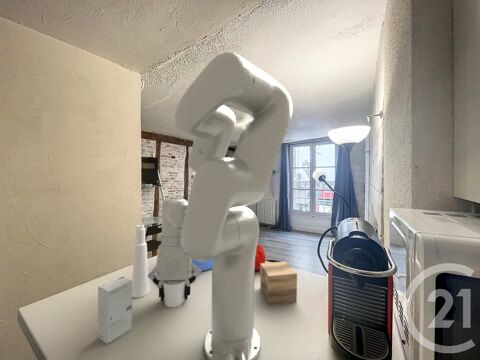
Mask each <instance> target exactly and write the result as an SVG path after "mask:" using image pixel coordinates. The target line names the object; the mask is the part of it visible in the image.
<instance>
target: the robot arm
mask: <svg viewBox="0 0 480 360" xmlns="http://www.w3.org/2000/svg"><path fill="white" fill-rule="evenodd" d="M231 109H234V110H236V111H239V112H241V113H242V112H243V113H244V114H247V115H249V116H251V117H252V118H251V120H250V121H249V122H247V124H246V125H245V126H244V128H243V129H242V130H241V132H240V134H239V137H238V140H237V145H236V148H235V150H234V154H233V155H232V157H229V156H228V157H227V152H228V150H229V146H230V143H231V140H232V138H233V134H234V131H235V130H236V129H235V128H236V124H237V119H236V116H235V113H234V112H233V110H231ZM292 116H293V102H292V97H291V96H290V93H289V92H288V90H287V89H286V88H285V87H284V86H283V85H282V84H281V83H280V82H278V81H277V80H276V79H274V78H273V77H272V76H270V75H269V74H267V72H265V71H264V70H262V69H260V68H258V67H257V66H255V65H254V64H252V63H251V62H250V61H248V60H246V59H245V58H244V57H242V56H241V55H239V54H237V53H235V52H229V51H226V52H222V53H219V54H217V55H216V56H214V57H213V58H212V59H211V60H210V61H209V62H208V63H207V64H206V66H205V67H204V68H203V69H202V71H201V72H200V73H199V74H198V75H197V76H196V78H195V79H194V81H192V83H191V84H190V85H189V87H188V88H187V89H186V90H185V92H184V94H183V95H182V96H181V98H180V101H179V102H178V104H177V106H176V110H175V115H174V121H175V126H176V129H177V130H178V131H179V132H180V133H181V134H184V135H188V136H193V137H194V140H193V144H192V146H191V151H190V154H189V158H188V160H187V161H188V162H187V164H188V167H189V168H190V169H191V170H192V171H193V172H195V175H194V177H193V181H192V183H191V188H190V192H189V197H188V200H187V199H185V198H166V199H164V200H162V204H161V235H157V236H156V241H157V242H161V243H160V244H159V245H158V248H157V256H156V263H155V266H154V268H152V269H151V271H148V277H149V280H150V281H152V282H153V283H154V285H155V286H157V289H158V298H160V302H165V296H164V285H163V282H164V281H170V280H184V281H185V283H186V286H185V300H184V301H188V299H189V298H188V297H189V296H191V285H192V284H193V283H194V282H195V281H196V279H197V278H199V276H200V275H201V274H202V271H201V270H200V269H199V268H198V267H197V266H196V265H194V264H193V263H192V259H193V260H195V261H199V262H204V261H209V260H212V259H214V262H213V267H212V269H211V329H210V330H209V331H208V332H207V334H206V336H205V338H204V346H203V347H204V353H205V356H206V357H207V359H208V360H256V359H257V358H258V357H259V354H260V351H261V337H260V335H259V333H258V331H257V330H256V329H255V326H254V325H255V324H254V323H255V321H254V320H255V318H254V317H255V271H256V270H255V254H256V248H257V245H258V244H259V243H258V241H259V235H260V223H259V219H258V217H257V214H255V212H254V211H253V210H252V209H250V208H249V207H247V206H250V205H255V204H257V203H259V202H261V200H263V198H264V197H265V195H266V192H267V190H268V187H269V184H270V181H271V177H272V175H273V172H274V168H275V167H276V163H277V160H278V157H279V152H280V149H281V147H282V143H283V141H284V140H285V136H286V134H287V132H288V129H289V126H290V123H291V120H292ZM192 270H193V271H192ZM192 272H194V273H192Z"/></svg>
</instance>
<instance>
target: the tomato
mask: <svg viewBox="0 0 480 360" xmlns="http://www.w3.org/2000/svg"><path fill="white" fill-rule="evenodd" d="M260 263H266V254H265V249H264V247H263V246H262V245H261V244H257V248H256V254H255V270H254V271H259V270H260Z"/></svg>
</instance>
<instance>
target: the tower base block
mask: <svg viewBox="0 0 480 360" xmlns="http://www.w3.org/2000/svg"><path fill="white" fill-rule="evenodd" d="M259 282H260V287H259V288H260V290H261V292H262V294H263V297H264V299H265V301H266V304H267V305H268V306H269V305H281V304H290V303H297V298H298V297H297V295H298V292H297V290H298V287H297V288H296V289H285V290H275V291H268V289H267V287H266V286H265V284H264V282H263V280H262V279H261V278H260V281H259Z"/></svg>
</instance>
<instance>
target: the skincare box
mask: <svg viewBox="0 0 480 360" xmlns="http://www.w3.org/2000/svg"><path fill="white" fill-rule="evenodd" d="M97 293H98V294H97V338H98V339H99V340H101V341H102V342H103V343H105V344H106V345H108V344H110V343H112V342H113V341H115V340H116V339H118V338H119V337H121V336H122V335H124V334H125V333H127V332H128V331H130V330H131V328H132V326H133V325H132V324H133V323H132V322H133V318H132V317H133V316H132V315H133V313H132V311H133V309H132V308H133V305H132V304H133V303H132V302H133V299H132V298H133V297H132V279H130V278H127V277H124V276H120V277H118V278H117V279H116V278H115V279H113V280H110V281H108V282H105V283H104V284H101V285H99V286H97Z"/></svg>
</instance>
